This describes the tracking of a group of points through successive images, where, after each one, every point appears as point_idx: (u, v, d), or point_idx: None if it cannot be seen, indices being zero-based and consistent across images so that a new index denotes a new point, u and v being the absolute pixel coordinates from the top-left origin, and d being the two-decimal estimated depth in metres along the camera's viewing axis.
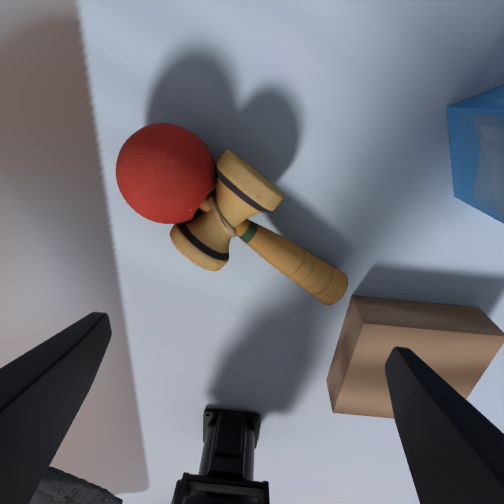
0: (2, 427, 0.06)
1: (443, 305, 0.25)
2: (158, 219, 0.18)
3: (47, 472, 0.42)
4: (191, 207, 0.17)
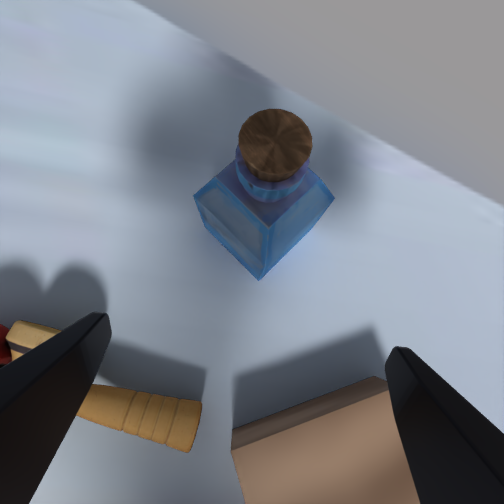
0: (2, 427, 0.06)
1: (336, 391, 0.21)
2: None
3: None
4: None
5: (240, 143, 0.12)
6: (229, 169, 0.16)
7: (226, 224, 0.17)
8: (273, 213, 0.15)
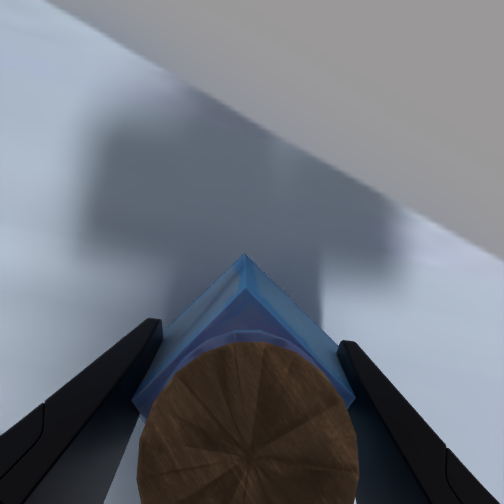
0: (87, 436, 0.06)
1: None
2: None
3: None
4: None
5: (143, 472, 0.04)
6: (163, 379, 0.07)
7: None
8: None
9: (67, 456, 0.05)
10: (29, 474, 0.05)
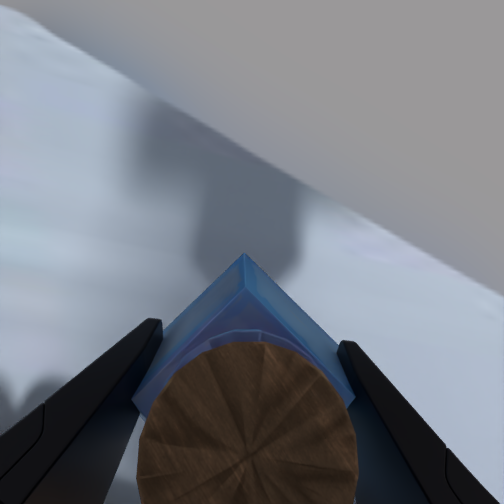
0: (87, 436, 0.06)
1: None
2: None
3: None
4: None
5: (142, 471, 0.04)
6: (163, 379, 0.07)
7: None
8: None
9: (67, 456, 0.05)
10: (29, 474, 0.05)
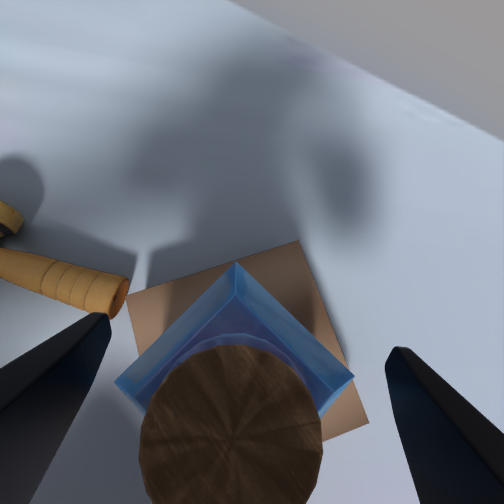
0: (2, 427, 0.06)
1: None
2: None
3: None
4: None
5: (144, 453, 0.05)
6: (162, 378, 0.08)
7: None
8: None
9: None
10: None
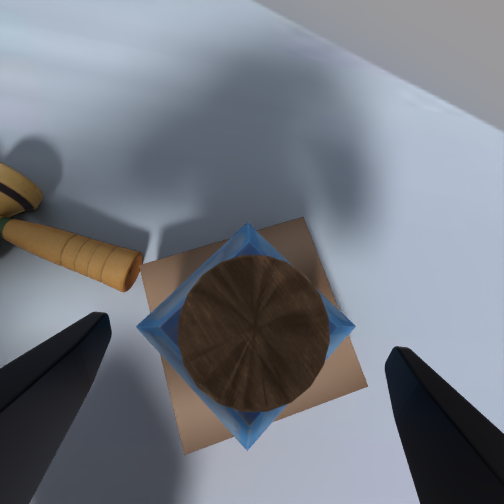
0: (2, 427, 0.06)
1: None
2: None
3: None
4: None
5: (182, 337, 0.06)
6: None
7: (186, 380, 0.11)
8: None
9: None
10: None
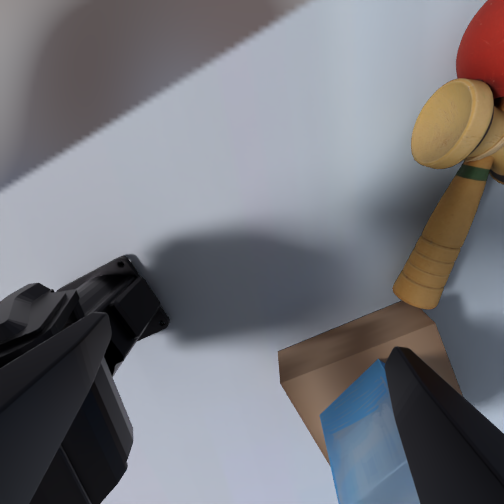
0: (2, 427, 0.06)
1: None
2: None
3: None
4: None
5: None
6: None
7: (389, 485, 0.15)
8: None
9: None
10: None
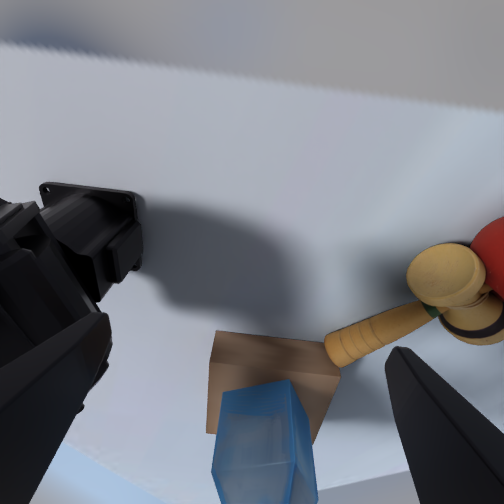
0: (2, 427, 0.06)
1: None
2: None
3: None
4: None
5: None
6: None
7: (255, 471, 0.20)
8: None
9: None
10: None
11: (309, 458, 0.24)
